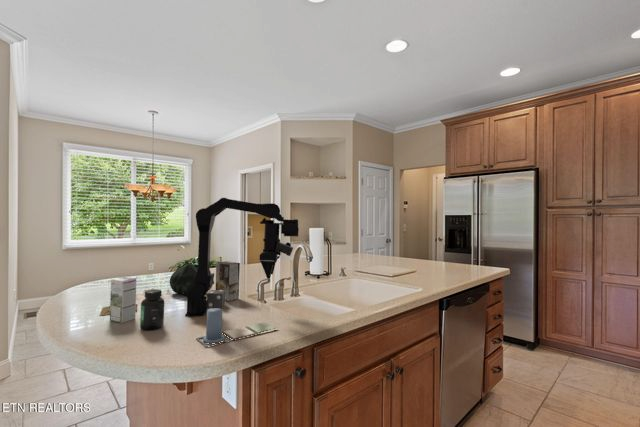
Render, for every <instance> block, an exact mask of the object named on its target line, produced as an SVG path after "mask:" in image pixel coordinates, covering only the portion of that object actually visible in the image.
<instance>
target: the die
mask: <svg viewBox="0 0 640 427" xmlns="http://www.w3.org/2000/svg"><path fill="white" fill-rule="evenodd" d="M206 296H207V297H206V300H208V308H222V307H223V308H224V306H225V305H226V300H225V290H216V289H210V290H209V291H208V292H207V293H206ZM223 308H222V309H223Z"/></svg>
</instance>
